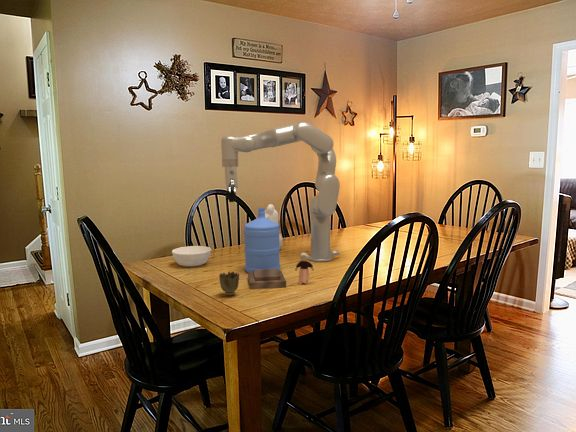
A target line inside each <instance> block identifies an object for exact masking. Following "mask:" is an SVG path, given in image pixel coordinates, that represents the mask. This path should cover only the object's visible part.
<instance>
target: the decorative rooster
mask: <svg viewBox="0 0 576 432" xmlns="http://www.w3.org/2000/svg"><path fill="white" fill-rule="evenodd" d="M265 217H266V218H267V219H269V220H271V221H273V222H276V223H278V224H279V213H278V211H277V210H276V209H275V205H274V204H272V203H270V204H268V205H267V207H266V208H265ZM283 244H284V238H283V237H282V235H281V232H280V233H279V246H280V249H282V247H283Z"/></svg>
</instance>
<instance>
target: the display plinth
mask: <svg viewBox="0 0 576 432" xmlns="http://www.w3.org/2000/svg"><path fill="white" fill-rule="evenodd" d="M247 279H248V283H249V288H250V290H261V289H262V290H263V289H279V288H281V289H282V288H287V279H286V278H285V276H284V274H283V272H282V270H279V271H278V270H277V269H260V270H253V272H247Z"/></svg>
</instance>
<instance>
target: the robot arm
mask: <svg viewBox="0 0 576 432" xmlns="http://www.w3.org/2000/svg"><path fill="white" fill-rule="evenodd" d="M220 141H221V142H220V143H221V145H220V147H221V167H222V168H224V182H225V188H226V200H228V202H229V203H235V202H237V193H236V189H238V187H239V186H238V185H239V183H238V171H237V167H238V168H239V152H240V153H241V152H242V153H250V152H252V151H257V150H262V149H266V148H276V147H282V146H285V145H288V144H295V143H297V142H299V143H300V142H303V143H305V144H306V145H308V146H310V148H311V150H312V151H313V152H315V154H316V155H317V158H318V162H317V171H316V177H315V181H314V182H315V183H314V187H315V188H316V190H317V191H318V194H317V195H314V196H313V197H312V198H311V199H310V201H309V215H310V254H309V255H308V259H307V260H309V261H310V262H311V261H312V262H319V263H320V262H322V263H325V262H330V261H333V260H334V256H340V255H341V251H340V250H337V251H336V250H332V249H331V216H333V214H334V213H335V211H336V208H337V205H338V199H339V195H340V194H339V193H340V181H339V180H340V179H339V178H338V176H336V167H337V155H336V153H335V150H334V139H333V138H332V137H331V136H330V135H329V134H327V133H326V132H324V131H322V130H321V129H320V128H317V127H316V126H314V125H313V124H311V123H309V122H308V121H307V122H306V121H300V122H297V123H292V124H287V125H283V126H278V127H275V128H274V127H273V128H271V129H270V128H269V129H268V130H267V129H266V130H265V131H261V132H258V133H254V134H249V135H242V136H234V135H233V136H230V135H227V136H222V137H221V139H220Z"/></svg>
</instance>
